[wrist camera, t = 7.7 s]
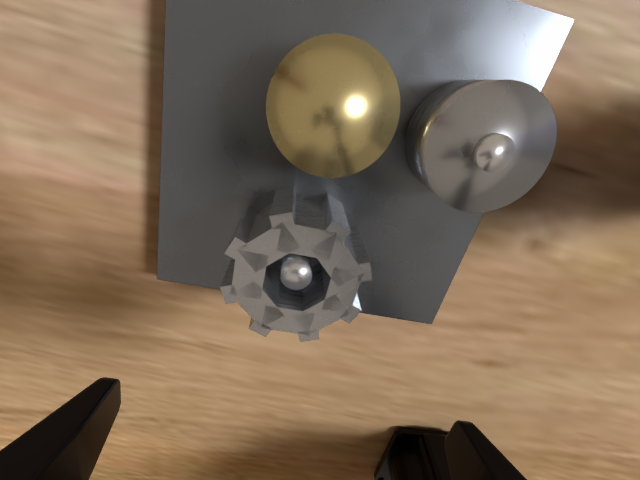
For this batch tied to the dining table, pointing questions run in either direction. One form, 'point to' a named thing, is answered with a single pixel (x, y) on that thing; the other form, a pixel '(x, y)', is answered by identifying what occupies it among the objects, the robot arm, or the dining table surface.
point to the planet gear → (302, 239)
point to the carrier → (353, 129)
